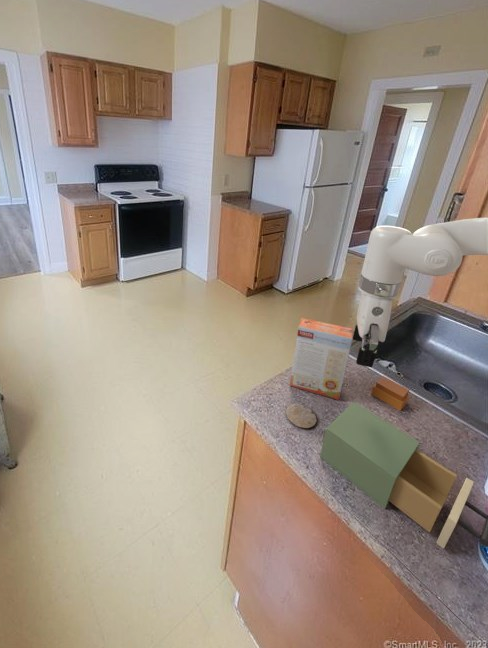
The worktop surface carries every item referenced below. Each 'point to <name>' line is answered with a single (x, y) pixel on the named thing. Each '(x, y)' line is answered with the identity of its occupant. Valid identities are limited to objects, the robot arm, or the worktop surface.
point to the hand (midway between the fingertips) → (361, 352)
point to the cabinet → (367, 451)
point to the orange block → (391, 393)
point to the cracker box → (321, 357)
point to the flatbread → (301, 415)
